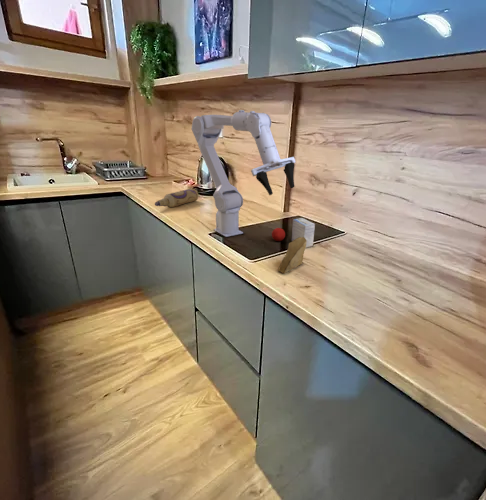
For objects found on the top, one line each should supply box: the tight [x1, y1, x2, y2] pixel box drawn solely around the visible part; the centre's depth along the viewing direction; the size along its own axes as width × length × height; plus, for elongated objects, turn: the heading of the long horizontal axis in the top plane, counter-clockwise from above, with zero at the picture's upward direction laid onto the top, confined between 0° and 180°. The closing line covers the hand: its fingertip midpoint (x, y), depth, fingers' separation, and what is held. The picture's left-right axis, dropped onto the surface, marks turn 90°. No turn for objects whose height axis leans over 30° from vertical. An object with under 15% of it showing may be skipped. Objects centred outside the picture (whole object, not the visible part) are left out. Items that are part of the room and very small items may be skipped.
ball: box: [271, 227, 286, 242], centre depth 113 cm, size 5×5×5 cm
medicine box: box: [291, 217, 316, 248], centre depth 111 cm, size 8×4×9 cm, turn 29°
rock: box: [277, 237, 307, 274], centre depth 93 cm, size 11×9×10 cm
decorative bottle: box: [154, 188, 199, 208], centre depth 152 cm, size 26×8×7 cm, turn 149°
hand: (282, 191), depth 97 cm, fingers open, 7 cm apart
